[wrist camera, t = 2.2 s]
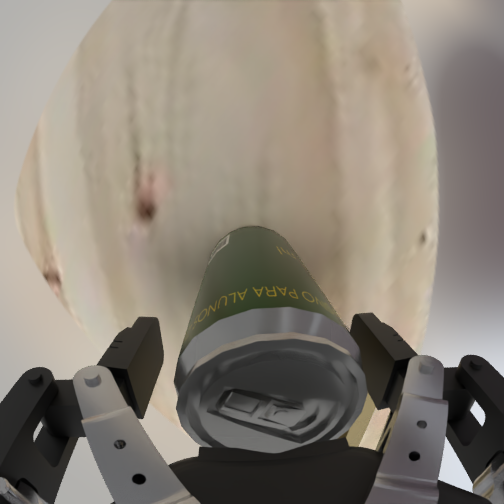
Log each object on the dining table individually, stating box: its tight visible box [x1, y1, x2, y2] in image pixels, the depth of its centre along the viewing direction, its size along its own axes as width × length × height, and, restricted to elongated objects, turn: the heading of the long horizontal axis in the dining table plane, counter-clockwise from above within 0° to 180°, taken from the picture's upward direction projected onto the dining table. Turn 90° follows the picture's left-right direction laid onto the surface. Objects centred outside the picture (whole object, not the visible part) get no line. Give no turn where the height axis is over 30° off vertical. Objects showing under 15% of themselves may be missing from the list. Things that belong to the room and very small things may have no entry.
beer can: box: [174, 227, 368, 453], centre depth 12 cm, size 5×5×12 cm
